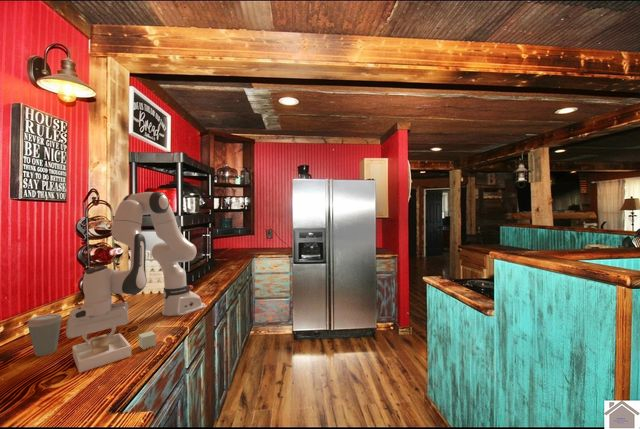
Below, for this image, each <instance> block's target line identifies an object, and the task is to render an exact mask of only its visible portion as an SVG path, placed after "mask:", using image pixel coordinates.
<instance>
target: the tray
mask: <svg viewBox="0 0 640 429" xmlns="http://www.w3.org/2000/svg"><path fill="white" fill-rule="evenodd" d="M72 357H73V360H74V363H75V366H76V368H77V370H78V373H83V372H84V373H85V372H87V371H90V370H92V369H96V368H99V367H102V366H105V365H108V364H111V363H114V362H117V361H120V360H124V359H126V358H130V357H132V345H131V344H130V343H129V341H128V340H127V339H126V338H125V337H124V336H123V334H122V333H121V332H120V333H116V334H115V333H114V334H113V338H112V339H109V350H107V351H104V352H101V353H97V354H93V353H92V351H91V344H90V345H86V341H85V342H82V343H78V344H75V345H72Z"/></svg>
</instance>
